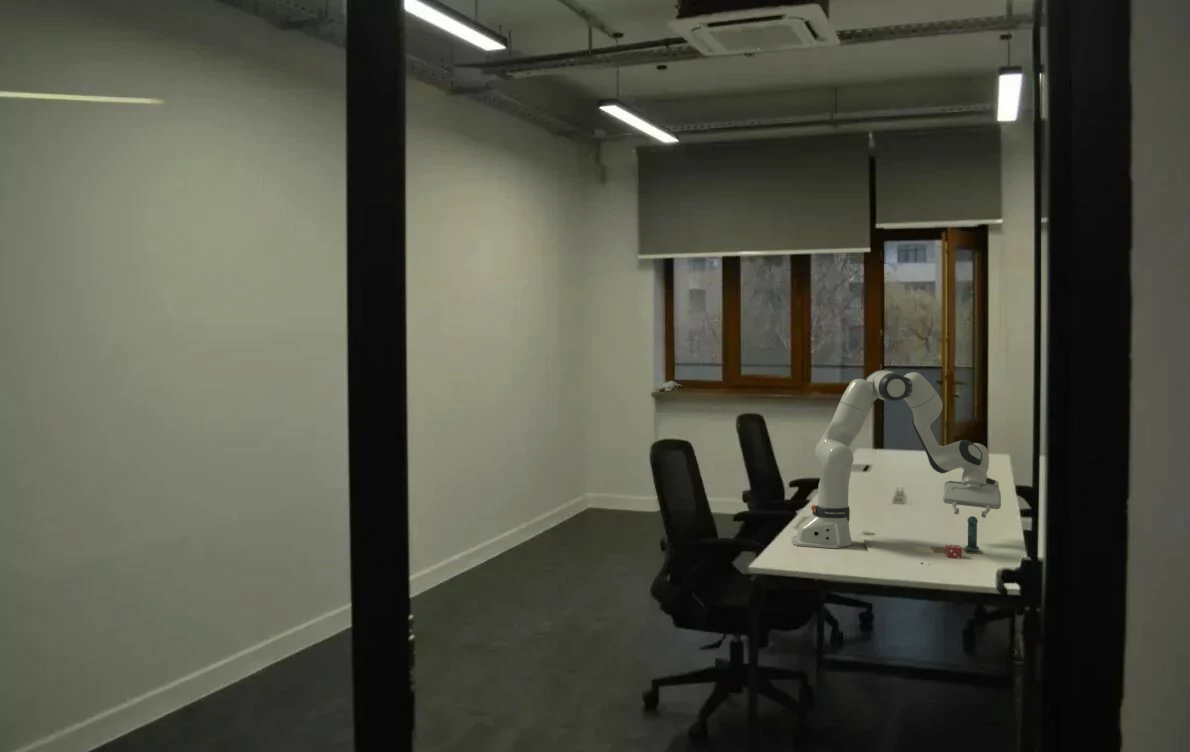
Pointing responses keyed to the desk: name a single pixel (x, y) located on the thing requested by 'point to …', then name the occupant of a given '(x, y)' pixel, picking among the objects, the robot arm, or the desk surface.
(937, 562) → the desk surface
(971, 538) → the pawn
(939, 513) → the desk surface
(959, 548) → the die
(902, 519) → the desk surface
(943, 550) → the board
